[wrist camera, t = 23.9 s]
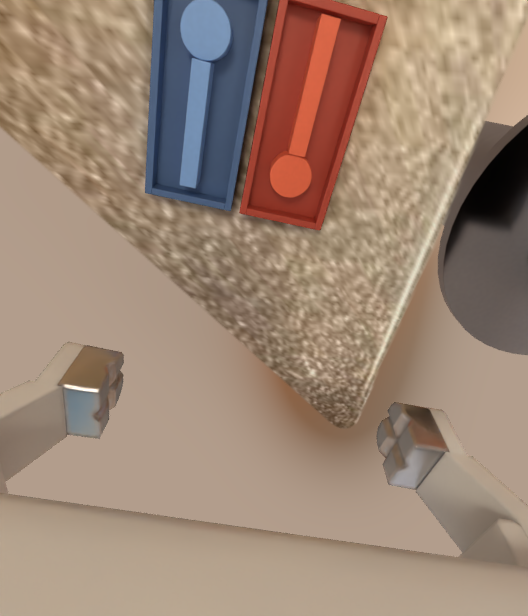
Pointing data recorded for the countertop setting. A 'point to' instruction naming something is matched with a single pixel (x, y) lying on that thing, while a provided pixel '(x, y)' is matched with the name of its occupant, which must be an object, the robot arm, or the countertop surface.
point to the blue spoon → (201, 77)
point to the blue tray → (222, 110)
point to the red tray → (330, 114)
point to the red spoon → (305, 113)
